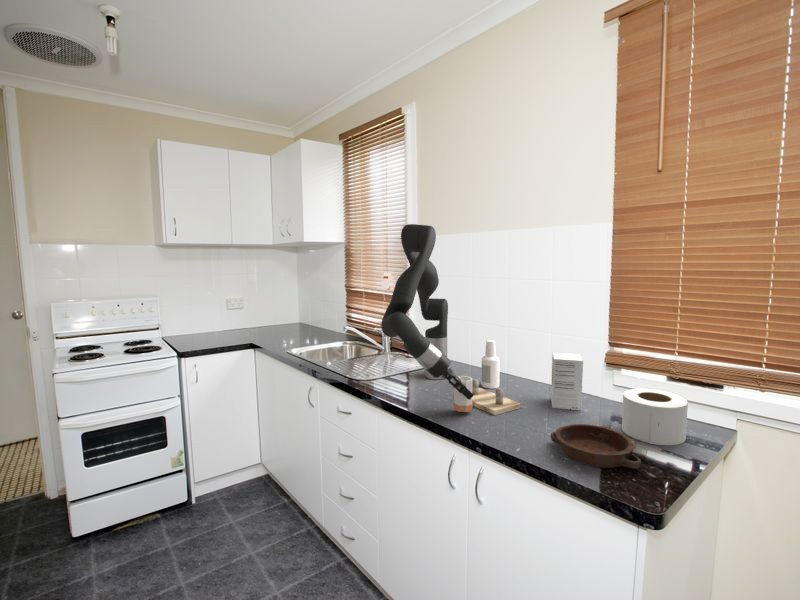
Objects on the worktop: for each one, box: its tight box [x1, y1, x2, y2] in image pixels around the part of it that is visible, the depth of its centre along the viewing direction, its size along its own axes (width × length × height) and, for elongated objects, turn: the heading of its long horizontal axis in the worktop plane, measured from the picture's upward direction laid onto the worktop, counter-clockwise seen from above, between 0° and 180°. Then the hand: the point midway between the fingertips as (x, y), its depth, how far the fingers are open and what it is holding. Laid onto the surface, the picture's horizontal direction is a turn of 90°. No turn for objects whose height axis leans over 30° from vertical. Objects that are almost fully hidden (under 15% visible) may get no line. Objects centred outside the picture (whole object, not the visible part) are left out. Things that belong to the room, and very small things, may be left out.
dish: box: [550, 423, 642, 470], centre depth 105 cm, size 18×22×5 cm
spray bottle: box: [480, 339, 501, 390], centre depth 161 cm, size 7×7×18 cm
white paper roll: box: [621, 388, 689, 446], centre depth 117 cm, size 16×15×11 cm
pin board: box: [472, 378, 522, 416], centre depth 143 cm, size 20×12×6 cm, turn 31°
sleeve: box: [453, 375, 474, 413], centre depth 134 cm, size 6×6×10 cm
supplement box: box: [550, 352, 584, 411], centre depth 140 cm, size 10×9×17 cm
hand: (468, 393), depth 134 cm, fingers closed on sleeve, 6 cm apart
